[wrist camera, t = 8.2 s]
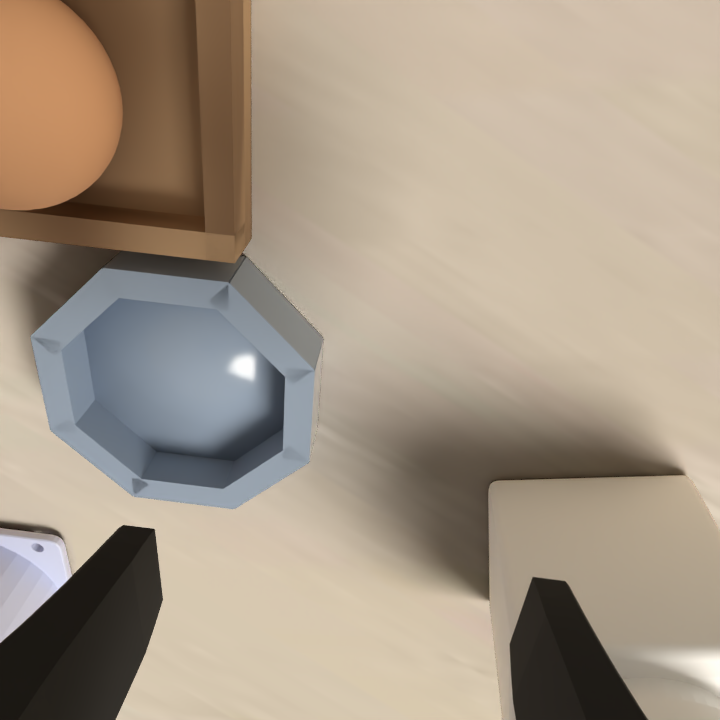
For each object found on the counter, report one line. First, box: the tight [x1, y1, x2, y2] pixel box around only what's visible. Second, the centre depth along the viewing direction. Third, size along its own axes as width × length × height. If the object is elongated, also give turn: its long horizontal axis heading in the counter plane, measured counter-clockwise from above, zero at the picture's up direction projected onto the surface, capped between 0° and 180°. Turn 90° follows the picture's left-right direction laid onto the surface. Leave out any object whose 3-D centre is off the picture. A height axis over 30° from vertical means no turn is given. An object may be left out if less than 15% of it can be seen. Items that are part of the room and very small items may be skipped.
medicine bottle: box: [488, 475, 720, 720], centre depth 19 cm, size 7×7×12 cm
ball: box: [0, 0, 123, 210], centre depth 14 cm, size 5×5×5 cm
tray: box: [0, 0, 252, 263], centre depth 16 cm, size 10×8×2 cm
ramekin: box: [31, 251, 324, 509], centre depth 21 cm, size 9×9×2 cm
